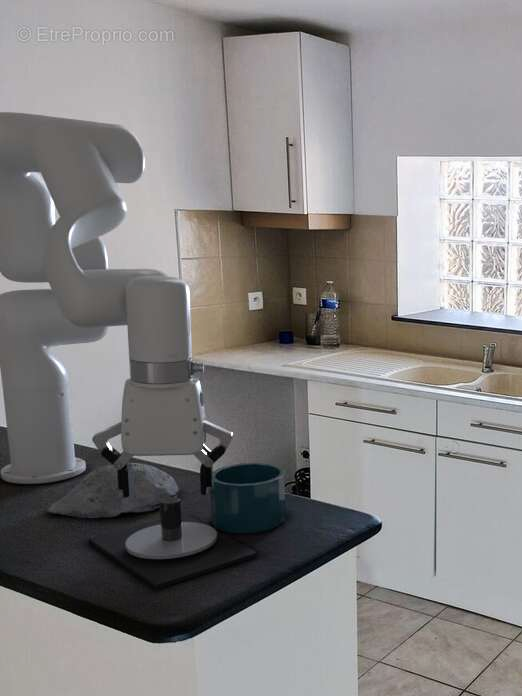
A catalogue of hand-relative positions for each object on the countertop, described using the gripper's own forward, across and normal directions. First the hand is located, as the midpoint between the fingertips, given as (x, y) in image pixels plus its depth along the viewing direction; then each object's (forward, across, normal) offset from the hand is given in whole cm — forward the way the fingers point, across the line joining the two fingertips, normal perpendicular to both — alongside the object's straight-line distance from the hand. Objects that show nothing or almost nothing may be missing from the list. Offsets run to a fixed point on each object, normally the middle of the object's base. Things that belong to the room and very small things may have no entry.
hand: (167, 492), depth 109 cm
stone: (+9, +9, -20) cm, 24 cm away
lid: (+7, 0, +1) cm, 7 cm away
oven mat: (+8, 0, +1) cm, 8 cm away
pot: (+8, -10, -9) cm, 16 cm away
